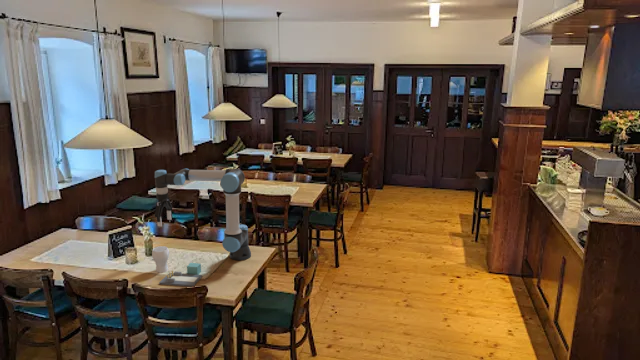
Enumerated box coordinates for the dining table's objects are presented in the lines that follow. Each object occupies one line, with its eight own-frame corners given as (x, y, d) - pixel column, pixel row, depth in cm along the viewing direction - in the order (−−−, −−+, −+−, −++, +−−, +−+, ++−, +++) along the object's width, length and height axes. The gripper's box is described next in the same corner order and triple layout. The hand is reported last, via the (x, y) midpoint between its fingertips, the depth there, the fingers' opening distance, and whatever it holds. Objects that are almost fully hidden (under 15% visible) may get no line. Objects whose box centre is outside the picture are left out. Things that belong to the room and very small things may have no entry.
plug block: (201, 271, 294) (200, 263, 292) (197, 275, 288) (197, 267, 287) (191, 271, 295) (190, 262, 293) (187, 274, 289) (186, 266, 288)
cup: (156, 266, 300) (154, 246, 297) (172, 266, 301) (170, 245, 297) (151, 273, 290) (149, 252, 286) (168, 273, 291) (166, 252, 287)
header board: (202, 276, 287) (201, 269, 285) (192, 287, 273) (192, 279, 272) (169, 274, 290) (169, 267, 288) (159, 284, 276) (158, 277, 275)
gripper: (165, 187, 312) (168, 216, 317) (147, 197, 288) (150, 228, 293) (176, 188, 311) (178, 217, 316) (158, 198, 287) (160, 229, 292)
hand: (164, 222), depth 305 cm, fingers open, 13 cm apart
